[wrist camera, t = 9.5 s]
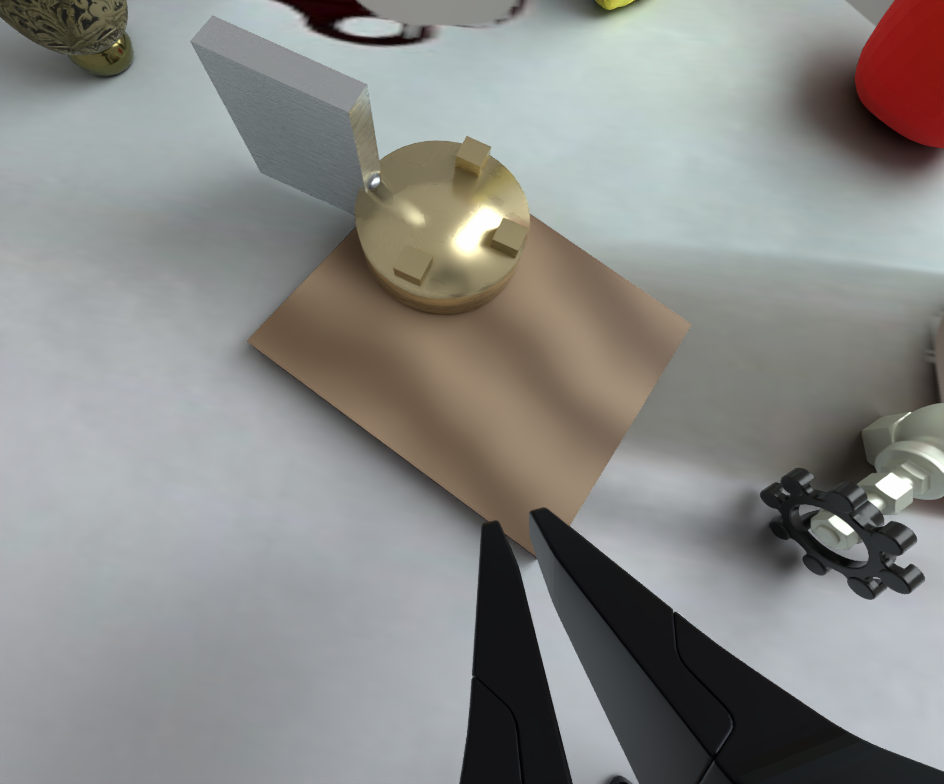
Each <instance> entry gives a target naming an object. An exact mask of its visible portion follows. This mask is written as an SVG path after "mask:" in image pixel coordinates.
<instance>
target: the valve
mask: <svg viewBox="0 0 944 784" xmlns="http://www.w3.org/2000/svg"><path fill="white" fill-rule="evenodd" d="M862 438H863V443H864V448H865V453H866V458H867V461H868V462H869V463H870V464H871V465H873V466H875V469H876V471H877V473H871V474H870V475H869V476H867V477H866V478H864V479H863V480H862V481H860V482H859V483H857V484H855V483H852V482H848V481H844V482H841V483H839V484H838V485H836V486H835V487H834V488H832V489H831V490H829V491H828V492H827V493H826V492H823V491H819V490H814V489H812V488H811V487H810V484H809V482H810V481H811V480H813V479H814V478H815V477H814V476H813V475H812V474H811V473H810V472H809V471H807V470H805V469H803V468H795V469H793V470H792V471H790V472H789V473H787V474H786V475H785V476H783V477H782V478H781V483H777V482H775V483H773V484H771V485H770V486H768V487H767V488H765V489H764V490H762V491H761V492H760V497H761V499H762V500H763V502H764V503H765V504H766V505H768V506H769V507H771V508H774V509H777V510H779V512H780V513H781V515H780V516H778V517H777V518H775V519H774V520H772V521H771V522H770V523H769V527H770V528H771V530H772V532H773V533H774V534H775V535H776V536H777V537H779V538H781V539H784V540H788V539H790V538H791V539H794V540H795V541H796V542H798V543H799V544H800V545H801V546H802V547H803V548H804V550H805V551H806V552H807V554H806V555H804V556H803V558H802V560H803V563H804V564H805V566H806V567H807V568H808V569H809V570H810V571H812V572H813V573H815V574H817V575H821V576H823V575H825V574H827V573H828V572H829V571H830V570H832V569H834V570H836V571H838V572H840V573H842V574H843V575H844V576H845V577H846V578H847V583H848V585H849V587H850V588H851V589H852V590H853V591H854V592H855V593H856V594H858V595H859V596H861V597H863V598H865V599H868V600H873V599H875V598H876V597H877V596H878V595H880V594H881V593H882V592H883V591H885V590H886V589H887V587H889V588H890V589H892V590H894V591H896V592H898V593H901V594H910V593H911V592H912V591H914V590H915V589H916V588H917V587H918V586H919V585H921V584H922V583H923V582H924V581H925V577H924V575H923V573H922V572H921V571H920V570H919V569H918V568H917V567H916V566H914V565H913V564H910V565H909V566H908V567H906V568H905V569H904V568H902V567H899V566H897V565H896V564H894V562H895V560H896V556H900V555H902V554H903V553H905V552H906V551H907V550H908V549H910V548H911V547H912V546H913V545H915V544H916V543H917V537H916V535H915V534H914V532H913V531H912V530H911V529H909V528H908V527H907V526H905V525H903V524H901V523H898V522H895V521H891V522H889V523H888V524H887V525H885V526H883V525H884V517H883V515H896V514H898V513H899V512H900V511H902V510H903V509H904V508H905V507H907V506H908V505H909V504H911V503H912V502H913V497H914V498H918V499H926V500H930V499H938V498H941V497H943V496H944V403H939V404H933V405H929V406H926V407H923V408H920V409H918V410H916V411H914V412H912V413H910V412H908V413H902V414H895V415H889V416H883V417H881V418H879V419H878V420H876V421H875V422H873V423H872V424H870V425H869V426H867V427H866V428H864V429H863V430H862ZM783 488H784V489H785V490H786V491H787V492H788V493H790V495H785V494H784V493H782V490H783ZM802 504H807V505H813V506H817V507H820V508H821V509H820V510H816V511H812V512H809V513H806V514H804V515H802V516H799V506H800V505H802ZM882 514H883V515H882ZM810 528H811V529H812V532H813V533H814V534H815V535H816V536H817V537H818V538H819V539H820V540H821V541H822V542H824V543H825V544H826V545H828V546H830V547H832V548H835V549H843V550H848V549H850V548H851V547H852V546H854V545H855V544H859V543H861V542H864V544H865V545H866V548H867V550H868V554H869V559H868V561H854V560H850V559H847V558H845V557H842V556H840V555H838V554H836V553H834V552H833V551H831V550H829V549H828V548H826V547H825V546H823V545H822V544H821V543H820V542H818V541H817V540H816V539H815V538H814V537H813V536H812V535H811V534H810V533H809V531H808V529H810ZM873 577H878V578H880V579H881V580H880V579H873Z"/></svg>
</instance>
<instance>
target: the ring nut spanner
mask: <svg viewBox="0 0 944 784" xmlns="http://www.w3.org/2000/svg"><path fill="white" fill-rule="evenodd" d="M190 42H191V44H192V46H193V47H194V49H195V51H196V53H197V55H198V57H199V59H200V60H201V62H202V64H203V66H204V68H205V70H206V72H207V73H208V75H209V77H210V79H211V81H212V83H213V85H214V86H215V88H216V90H217V92H218V94H219V96H220V98H221V99H222V101H223V103H224V105H225V107H226V109H227V111H228V112H229V114H230V116H231V118H232V120H233V122H234V124H235V125H236V127H237V129H238V131H239V133H240V135H241V137H242V138H243V140H244V142H245V144H246V146H247V148H248V150H249V151H250V153H251V155H252V157H253V159H254V161H255V163H256V164H257V166H258V168H259V170H260V172H261V173H263V174H265V175H267V176H269V177H271V178H274V179H276V180H278V181H280V182H283V183H285V184H287V185H289V186H291V187H294V188H296V189H298V190H300V191H302V192H305V193H307V194H309V195H311V196H314V197H316V198H318V199H320V200H322V201H325V202H327V203H329V204H331V205H334V206H336V207H338V208H340V209H342V210H345V211H347V212H349V213H351V214H354V215H355V222H356V228H357V232H358V235H359V239H360V242H361V246H362V249H363V253H364V256H365V260H366V263H367V265H368V267H369V270H370V272H371V273H372V275H373V277H374V278H375V280H376V281H377V282H378V283H379V285H380V286H381V287H382V288H383V289H384V290H385V291H386V292H387V293H388V294H390V295H391V296H392V297H394V298H395V299H397V300H398V301H400V302H401V303H403V304H405V305H407V306H409V307H412V308H415V309H417V310H421V311H425V312H429V313H437V314H454V313H461V312H465V311H469V310H473V309H475V308H478V307H480V306H482V305H484V304H486V303H488V302H490V301H491V300H492V299H494V298H495V297H496V296H498V295H499V294H500V293H501V292H502V291H503V290H504V289H505V287H506V286H507V285H508V284H509V282H510V281H511V279H512V277H513V275H514V274H515V271H516V268H517V266H518V263H519V261H520V258H521V256H522V253H523V250H524V248H525V245H526V242H527V240H528V235H529V230H530V214H529V208H528V203H527V200H526V197H525V195H524V192H523V190H522V188H521V187H520V185H519V183H518V182H517V180H516V179H515V177H514V176H513V175H512V174H511V173H510V171H509V170H508V169H507V168H506V167H505V166H503V165H502V164H501V163H500V162H499V161H498V160H496V159H495V158H493V157H492V156H490V150H491V147H490V146H488V145H486V144H483V143H481V142H479V141H477V140H475V139H472V138H470V137H468V136H466V138H465V140H464V142H463V144H461V143H456V142H450V141H425V142H419V143H414V144H411V145H407V146H404V147H402V148H400V149H397V150H395V151H393V152H392V153H390V154H388V155H386V156H385V157H384V158H383V159H381V160H380V161H379V156H378V150H377V144H376V137H375V131H374V125H373V118H372V112H371V106H370V100H369V93H368V87H367V84H364V83H362V82H360V81H358V80H356V79H353V78H351V77H349V76H347V75H344V74H342V73H340V72H338V71H335V70H333V69H331V68H329V67H327V66H324V65H322V64H320V63H318V62H315V61H313V60H311V59H309V58H306V57H304V56H302V55H300V54H297V53H295V52H293V51H291V50H289V49H286V48H284V47H282V46H280V45H277V44H275V43H273V42H271V41H268V40H266V39H264V38H262V37H260V36H257V35H255V34H253V33H251V32H248V31H246V30H244V29H242V28H239V27H237V26H235V25H233V24H231V23H228V22H226V21H224V20H222V19H219V18H217V17H215V16H212V17H211V18H210V19H209V20H208V21H207V22H206V24H205V25H204V26H203V27H202V28H201V29H200V31H199V32H198V33H197V34H196V35H195V36H194V37H193V39H192V40H191V41H190Z"/></svg>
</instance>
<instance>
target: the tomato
mask: <svg viewBox="0 0 944 784" xmlns="http://www.w3.org/2000/svg"><path fill="white" fill-rule="evenodd" d="M855 84H856V90H857V94H858V97H859V99H860V100H861V102H862V103H863V105H864V106H865V107H866V108H867V109H868V110H869V111H870V112H871V113H872V114H874V115H875V116H876V117H877V118H878V119H880V120H881V121H882V122H884V123H885V124H886V125H887V126H889V127H890V128H892V129H893V130H895V131H896V132H897V133H899V134H901V135H902V136H904V137H906V138H907V139H910V140H912V141H914V142H917V143H919V144H922V145H926V146H930V147H938V148H944V0H895V1H894V2H893V3H892V5H891V6H890V8H889V9H888V10H887V12H886V13H885V14H884V16H883V17H882V19H881V20H880V22H879V23H878V25H877V27H876V28H875V30H874V31H873V33H872V34H871V36H870V38H869V39H868V41H867V43H866V44H865V46H864V48H863V50H862V52H861V55H860V58H859V61H858V64H857V67H856V73H855Z"/></svg>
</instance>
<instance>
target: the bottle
mask: <svg viewBox="0 0 944 784" xmlns="http://www.w3.org/2000/svg"><path fill="white" fill-rule="evenodd" d="M595 1H596V2H597V3H598V4H599V5H600V6H602V7H603V8H604V9H606V10H612V9H615V8H617V7H622V6H625V5H627V4H629V3H631V2H633V1H635V0H595Z"/></svg>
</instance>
